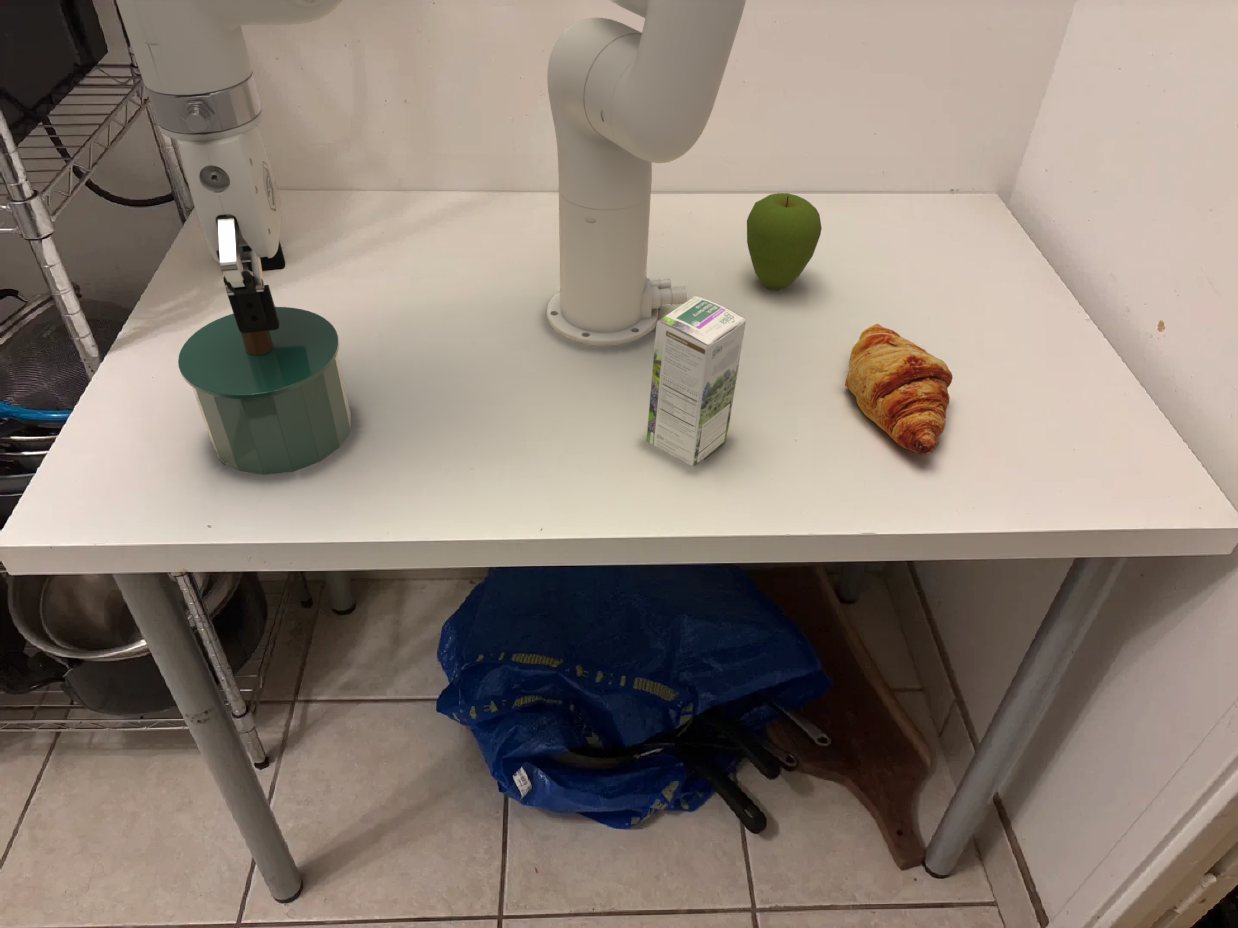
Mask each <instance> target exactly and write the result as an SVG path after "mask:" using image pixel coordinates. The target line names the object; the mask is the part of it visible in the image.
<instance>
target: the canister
mask: <svg viewBox="0 0 1238 928" xmlns="http://www.w3.org/2000/svg"><path fill="white" fill-rule="evenodd" d="M341 366H342V365H341V361H340V357H339V352H338V353H337V356H336V358H335V359H334V361H333V363H332V364H331V365H330V366H329V367H328V369H326V370H325V371H324V372H323V373H322V374H321V375H319V376H318V377H317V378H315V379H314V380H312V381H310V382H308V383H307V384H305V385H303V386H300V387H298V388H296V389H293V390H291V391H288V392H285V393H281V394H278V395H273V396H269V397H263V398H256V399H227V398H220V397H215V396H211V395H208V394H205V393H202V392H200V391H198V390H196V389H195V388H193V387H192V386H191V388H192V391H193V392H194V397H195V400H196V402H197V405H198V408H199V412H200V413H201V417H202V419H203V422H204V425H205V428H206V432H207V434H208V436H209V439H210V442H211V445H212V447H213V449H214V451H215V453H216V456H217V458H218V459H219V461H220V462H221V463H222V464H223V465H224V466H225V467H226V466H227V465H228V466H230V467H232V468H233V469H235V470H237V471H240V472H244V473H250V474H251V473H252V474H257V475H263V476H265V475H274V474H284V473H293V472H296V471H298V470H301V469H304V468H307V467H309V466H313V465H315V464H318V463H319V462H321V461H323V460H324V459H326V458H327V457H329V456H330V455H331V454H333V453H334V452H335V451H336V450H338V449H340V448H341V446H342V445H343V443H344V441H345V440H346V439H347V437H348V435H349V434H350V432H351V429H352V427H351V424H352V423H351V421H352V420H351V419H352V413H351V409H350V404H349V400H348V395H347V391H346V386H345V381H344V375H343V372H342V371H343V370H342V367H341Z"/></svg>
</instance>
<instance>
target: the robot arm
mask: <svg viewBox="0 0 1238 928" xmlns="http://www.w3.org/2000/svg"><path fill="white" fill-rule="evenodd" d="M342 1H343V0H115V2H116V5H117V7H118V10H119V13H120V16H121V17H120V18H121V20H122V23H123V26H124V28H125V31H126V35H127V38H128V40H129V44H130V47H131V49H132V53H133V55H134V58H135V60H136V65H137V68H138V69H139V72H140V76H141V79H142V81H143V85H144V89H145V92H146V94H147V98H148V100H149V103H150V106H151V109H152V112H153V115H154V117H155V118H154V119H155V121H156V123H157V127H158V129H159V131H160V133H161V134H162V135H163V136H166V137H168V138H170V139H172V140H176V144H177V148H178V152H179V155H180V160H181V164H182V169H183V171H184V175H185V178H186V182H187V185H188V189H189V192H190V196H191V200H192V203H193V206H194V209H195V212H196V216H197V219H198V222H199V225H200V229H201V231H202V235H203V238H204V241H205V243H206V246H207V248H208V251H209V253H210V255H211V257H212V258H213V260H215V261H216V262H218V263H219V267H220V270H221V272H222V274H223V278H222V279H223V283H224V289H225V291H226V295H227V298H228V301H229V304H230V307H231V310H232V314H233V313H234V316H235V320H236V323H237V326H238V329H239V331H240V332H242V333H251V332H261V331H270V330H277V329H278V328H279V319H278V316H277V312H276V309H275V307H276V305H275V303H274V302H275V301H274V298H273V295H272V291H271V289H270V285H269V284H265V281H264V274H263V272H268V271H278V270H284V269H285V268H286V260H285V256H284V251H283V248H282V245H281V240H280V238H281V228H282V221H283V204H282V199H281V196H280V193H279V189H278V186H277V183H276V180H275V179H276V178H275V176H274V172H273V170H272V166H271V162H270V159H269V156H268V153H267V150H266V147H265V144H264V140H263V137H262V135H261V131H260V128H259V126H258V125H259V124H260V123H262V120H263V119H264V111H263V107H262V103H261V99H260V95H259V92H258V88H257V84H256V80H255V76H254V72H253V70H252V69H253V68H252V63H251V59H250V56H249V52H248V48H247V44H246V40H245V37H244V32H243V29H242V26H260V25H261V26H263V25H264V26H266V25H267V26H271V25H272V26H287V25H288V26H289V25H301V24H302V25H303V24H309V23H312V22H316V21H318V20H321V19H323V18H325V17H327V16H328V15H330V14H331V13H332V12H334V11H335V10H336V9H337V8H338V7H339V6H340V4H341V3H342ZM609 1H610V2H611V3H613V4H615V5H617V6H618V7H621V8H622V9H625V10H627V11H629V12H631V13H633V14H635V15H637V16H639V17H641V18H644V21H643V27H642V31H639V30H637V29H635V28H634V27H631V26H629V25H627V24H625V23H622V22H620V21H618V20H614V19H611V18H607V17H606V18H605V17H589V18H584V19H580V20H578V21H576V22H574V23H573V24H571V25H570V26H568V27H567V28H566V29H565V30H564V31H562V33H561V34H560V35H559V36H558V38H557V39H556V41H555V43H554V45H553V47H552V48H551V49H552V50H551V52H550V55H549V59H548V65H547V77H546V78H547V92H548V100H549V104H550V110H551V117H552V122H553V126H554V130H555V131H554V133H555V139H556V151H557V152H556V153H557V172H558V239H559V244H558V245H559V290H558V291H557V292H556V293H555V294H554V295H553V296H551V298H550V300H549V301H548V302H547V306H546V319H547V321H548V323H549V325H550V327H551V328H552V329H553V330H554V331H555V332H556V333H557V334H559V335H560V336H562V337H564V338H566V339H568V340H570V341H573V342H576V343H579V344H583V345H589V346H597V347H598V346H599V347H605V346H619V345H625V344H628V343H632V342H634V341H637V340H639V339H641V338H643V337H645V336H647V335H648V334H649V333H650V332H653V331H654V329H656V325H657V321H658V320H659V319H658V318H659V317H658V316H659V315H658V314H659V313H658V311H659V309H660V307H661V306H666V305H671V306H673V305H674V306H675V305H682V304H684V303H685V302H687V301H688V290H687V287H686V286H685V285H684V286H675V287H672V281H671V279H670V277H669V278H659V279H652V280H651V279H650V277H647V270H648V254H649V253H648V252H649V235H650V233H649V232H650V213H651V199H652V198H651V195H652V183H653V182H652V181H653V175H652V174H653V167H652V166H653V165H652V163H653V164H666V163H670V162H673V161H676V160H678V159H679V158H681V157H682V156H684V155H685V154H686V153H688V152H689V151H690V150H691V149H692V148H693V147H694V145H695V144H696V143H697V142H698V140H699V139H700V137H701V135H702V134H703V132H704V130H705V128H706V126H707V124H708V121H709V119H710V117H711V115H712V111H713V109H714V107H715V103H716V100H717V97H718V94H719V91H720V87H721V84H722V81H723V78H724V74H725V71H726V68H727V66H728V65H727V64H728V62H729V58H730V56H731V52H732V49H733V46H734V43H735V40H736V36H737V34H738V29H739V27H740V25H741V24H740V23H741V20H742V17H743V13H744V10H745V6H746V3H747V0H609ZM240 246H242V249H243V252H240ZM242 263H246V265H247V269H248V270H244V265H243V264H242Z"/></svg>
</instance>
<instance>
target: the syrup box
mask: <svg viewBox="0 0 1238 928" xmlns="http://www.w3.org/2000/svg"><path fill="white" fill-rule="evenodd" d="M746 323H747V320H746V319H745V318H743V317H742V316H740V315H739V314H737V313H735V312H733V311H732V310H730V309H728V308H726V307H724V306H722V305H720V304H718V303H716V302H714V301H711V300H709V299H706V298H703V297H700V296H696V295H694V296H693V297H691V298H690V299H689V300H688V299H687V302H685V303H684V304H680V305H679V306H678V307H676V308H675V309H673V310H672V311H670V312H669V313H667V314H666V315H665V316H663V317H661V318H660V319H657V324H656V326H655V335H654V336H655V337H654V338H655V339H654V349H653V360H652V372H651V383H650V395H649V407H648V408H649V409H648V419H647V430H646V431H647V432H646V440H645V441H646V442H647V443H649V444H651V445H652V446H654V447H656V448H658V449H660V450H662V451H663V452H665V453H667V454H669V455H671V456H672V457H674V458H677V459H678V460H680V461H682V462H684V463H686V464H687V465H690V466H691V467H694V466H696V465H697V464H698V463H700V462H701V461H702V460H706V458H708V457H709V456H710V455H711V454H712V453H714V452H715V451H716V450H718V448H719V447H721V446H722V445H723V444H724V443H725V442H726V441H727V439H728V434H729V428H730V421H731V416H732V408H733V402H734V397H735V390H736V384H737V378H738V371H739V366H740V361H741V360H740V359H741V353H742V347H743V340H744V334H745V329H746Z"/></svg>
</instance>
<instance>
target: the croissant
mask: <svg viewBox="0 0 1238 928" xmlns="http://www.w3.org/2000/svg"><path fill="white" fill-rule="evenodd" d="M858 339H859V340H858V341H857V342H856V343H855V344H854V345H853V346H852V349H851V352H850V355H849V361H848V367H849V368H848V374H847V375H846V377H845V382H844V386H845V387H846V388H847V389H848V390H849V391H850V392H851V394H853V396H854V397H855V399H856V404H857V407H858V408H859V409H860V411H862V413H863V415H864V416H866V417H867V418H868V419H869V420H871V421H872V422H873V423H875V424H876V425H877V426H878V427H879V428H880V429H881V430H883V431H884V432H885V433H886V434H887V435H888V436H889V437H890V438H891V439H892V441H894V442H895V443H896V444H897V445H898V446H900V447H902V448H904V449H906V450H909V451H911V452H914V453H917V454H919V455H927V454H931V453H933V452H934V451H935V450H936V447H937V446H938V445H939V441H938V440H937V439H938V438H939V437H940V436H941V435H942V434H943V433H944V430H945V427H946V423H947V421H946V417H947V415H946V412H947V410H948V406H949V404H950V394H949V391H948V389H949V387H950V386H951V384H952V383H953V374H952V373H953V372H952V371H951V370H950V369H949V367H948V364H947V363H946V362H945V361H944V360H942V359H941V358H939V357H937V356H935V355H933V354H931V353H929V352H928V351H927V350H925V349H924V348H922V347H921V346H919V345H917V344H915V343H914V342H912V341H910V340H908V339H906V338H905V337H902V336H901V334H899V333H897V332H896V331H895V330H893V329H890V328H887V327H883V326H882V325H880V324H879V323H875V324H873V325H871V326H869V327H868V328H866V329H864V330H863V331H862V332H861V333H860V335H859V338H858Z"/></svg>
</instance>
